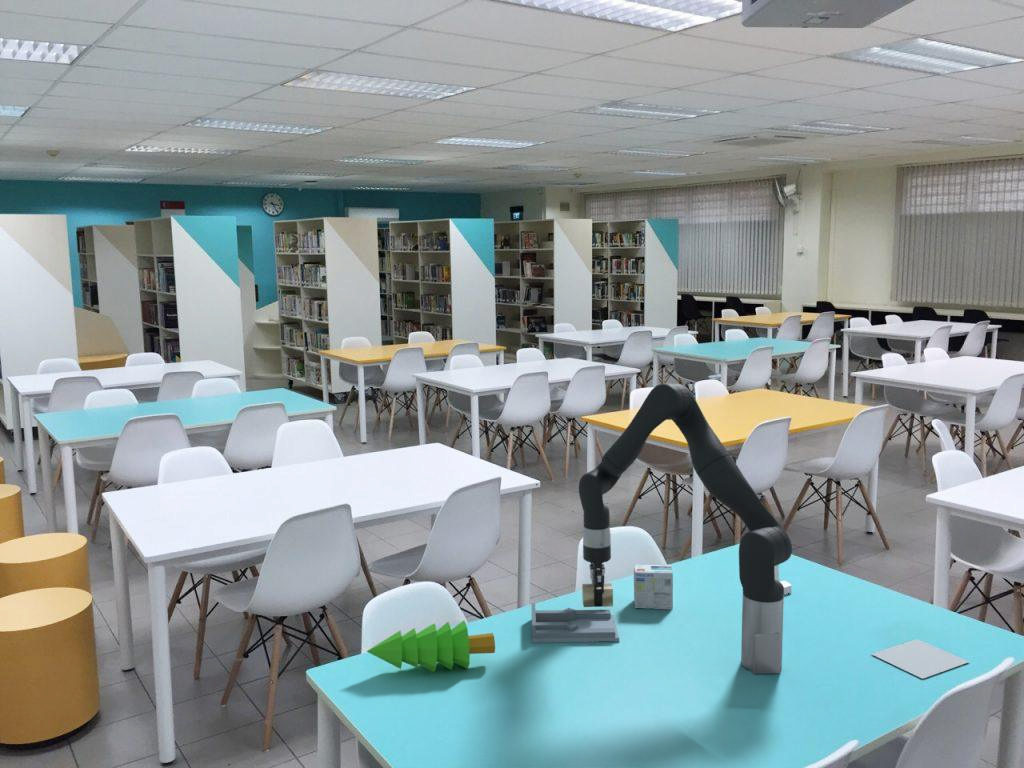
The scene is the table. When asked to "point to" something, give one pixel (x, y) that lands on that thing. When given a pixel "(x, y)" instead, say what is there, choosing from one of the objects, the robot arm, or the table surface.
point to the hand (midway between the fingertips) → (597, 602)
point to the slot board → (573, 625)
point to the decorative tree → (434, 647)
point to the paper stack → (920, 658)
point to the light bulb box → (653, 586)
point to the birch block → (589, 595)
